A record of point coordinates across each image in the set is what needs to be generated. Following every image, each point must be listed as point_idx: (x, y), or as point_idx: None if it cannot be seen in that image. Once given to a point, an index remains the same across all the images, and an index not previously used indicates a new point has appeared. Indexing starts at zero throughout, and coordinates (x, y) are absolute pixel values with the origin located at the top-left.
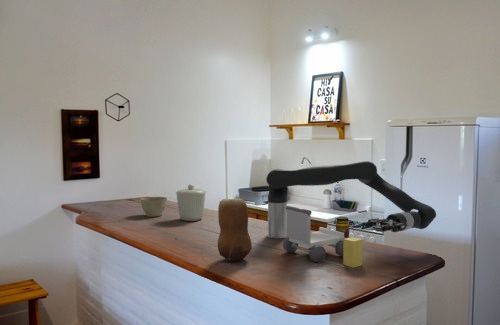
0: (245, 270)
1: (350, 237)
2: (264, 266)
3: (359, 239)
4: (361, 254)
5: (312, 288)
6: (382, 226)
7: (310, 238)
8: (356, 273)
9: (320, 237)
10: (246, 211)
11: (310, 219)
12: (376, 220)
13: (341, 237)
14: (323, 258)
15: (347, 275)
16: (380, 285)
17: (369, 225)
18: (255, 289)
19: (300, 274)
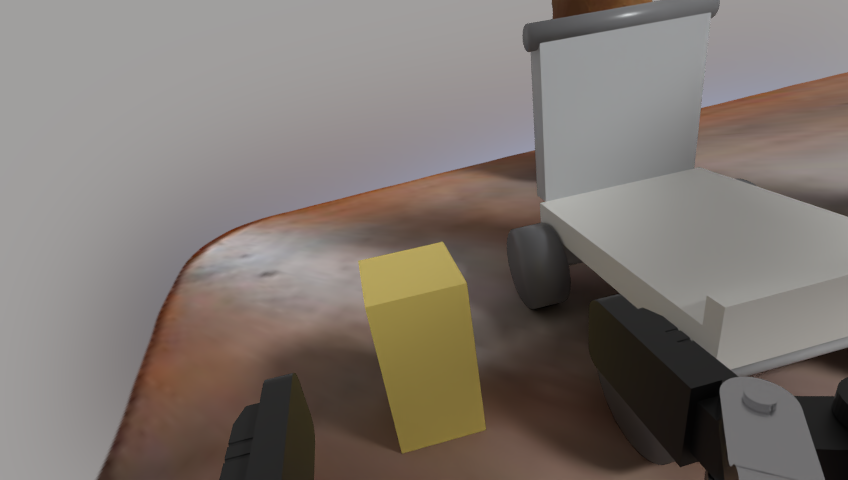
0: (497, 182)
1: (457, 271)
2: (520, 201)
3: (377, 294)
4: (386, 390)
5: (295, 249)
6: (280, 378)
7: (643, 206)
8: (310, 372)
9: (673, 234)
10: (579, 13)
11: (541, 80)
12: (738, 466)
13: (692, 319)
14: (534, 303)
15: (315, 337)
16: (138, 391)
17: (634, 387)
18: (365, 192)
19: (410, 245)
